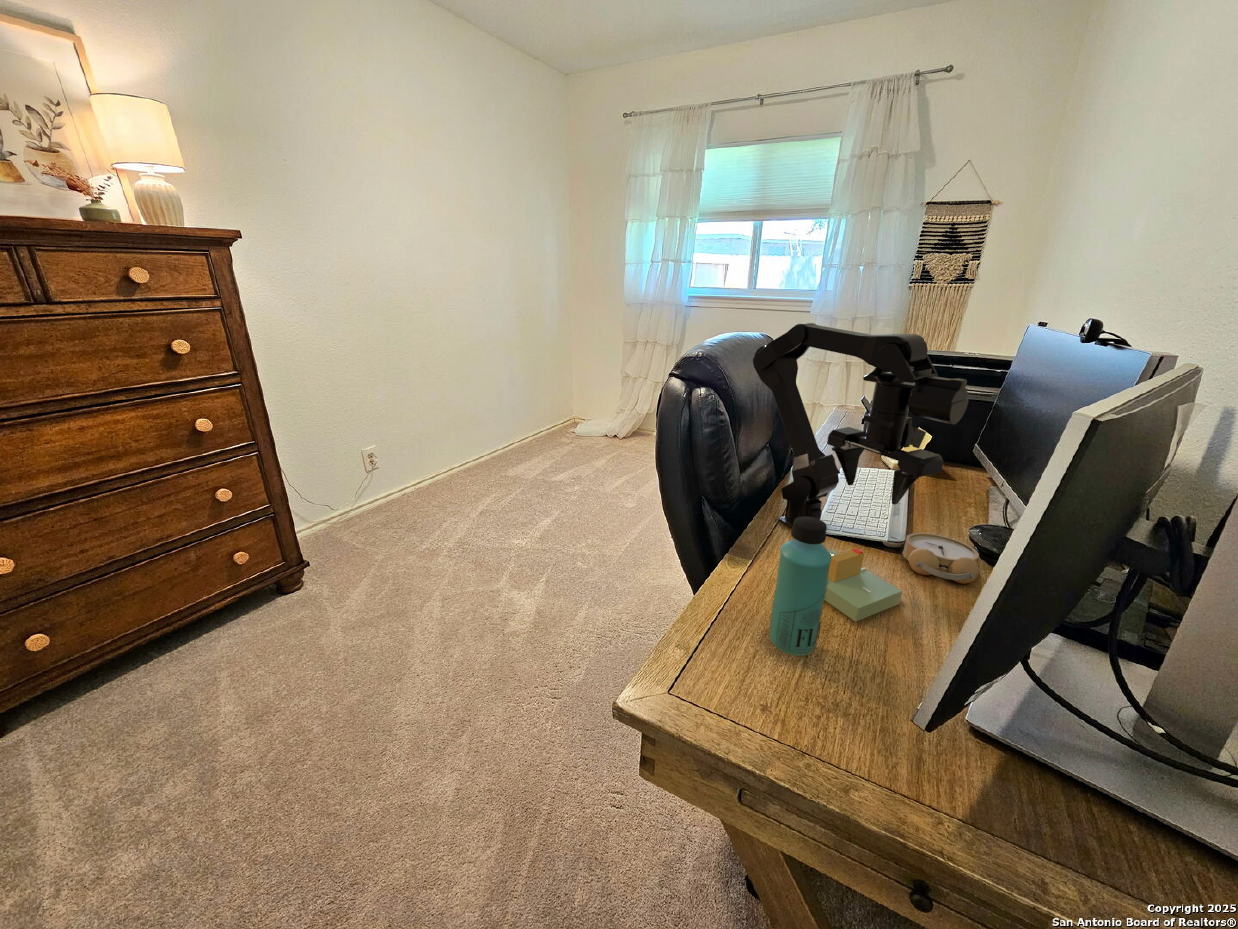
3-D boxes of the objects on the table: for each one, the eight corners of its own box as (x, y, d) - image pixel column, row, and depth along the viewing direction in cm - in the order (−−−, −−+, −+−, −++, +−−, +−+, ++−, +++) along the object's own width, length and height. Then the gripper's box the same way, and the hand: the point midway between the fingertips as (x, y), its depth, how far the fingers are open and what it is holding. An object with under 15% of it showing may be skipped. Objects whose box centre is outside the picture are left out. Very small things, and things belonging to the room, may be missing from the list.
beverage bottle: (791, 672, 63) (813, 539, 56) (756, 641, 69) (772, 516, 62) (826, 656, 66) (851, 527, 59) (789, 627, 72) (808, 506, 65)
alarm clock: (972, 540, 90) (991, 568, 77) (966, 565, 91) (984, 596, 78) (904, 527, 94) (911, 551, 81) (898, 551, 96) (904, 578, 82)
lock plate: (787, 574, 85) (789, 561, 84) (829, 560, 89) (831, 548, 88) (854, 622, 73) (858, 607, 72) (899, 604, 77) (903, 590, 76)
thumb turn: (834, 582, 78) (838, 560, 76) (826, 577, 79) (830, 555, 78) (860, 573, 80) (865, 551, 79) (852, 568, 82) (856, 547, 80)
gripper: (975, 418, 77) (950, 506, 83) (873, 395, 93) (858, 469, 99) (931, 426, 73) (908, 518, 78) (831, 400, 89) (819, 478, 94)
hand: (871, 494), depth 88 cm, fingers open, 9 cm apart
